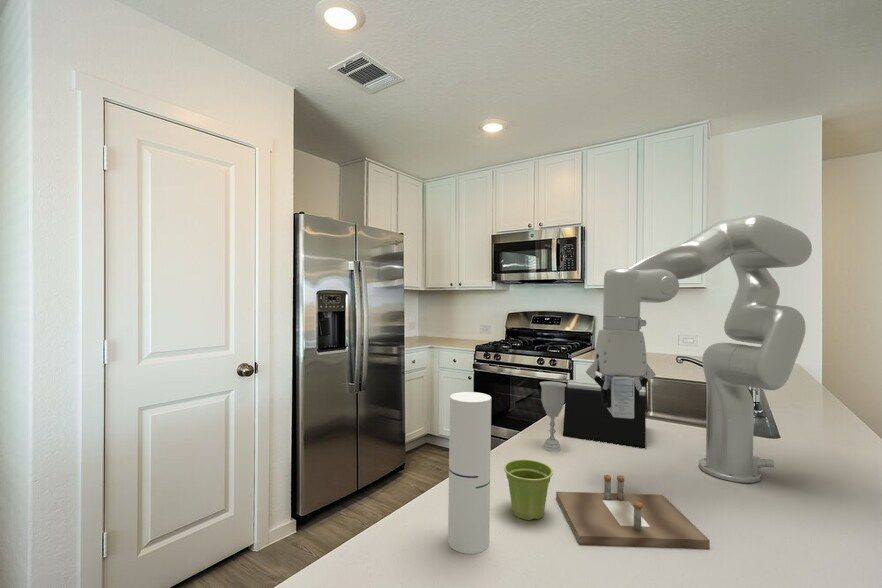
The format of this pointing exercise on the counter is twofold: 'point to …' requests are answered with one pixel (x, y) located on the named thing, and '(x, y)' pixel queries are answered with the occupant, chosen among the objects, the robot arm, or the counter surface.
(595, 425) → the device stand
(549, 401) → the chalice
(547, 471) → the plant pot
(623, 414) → the medicine box
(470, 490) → the cylindrical container
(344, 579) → the counter surface
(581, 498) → the pin board
